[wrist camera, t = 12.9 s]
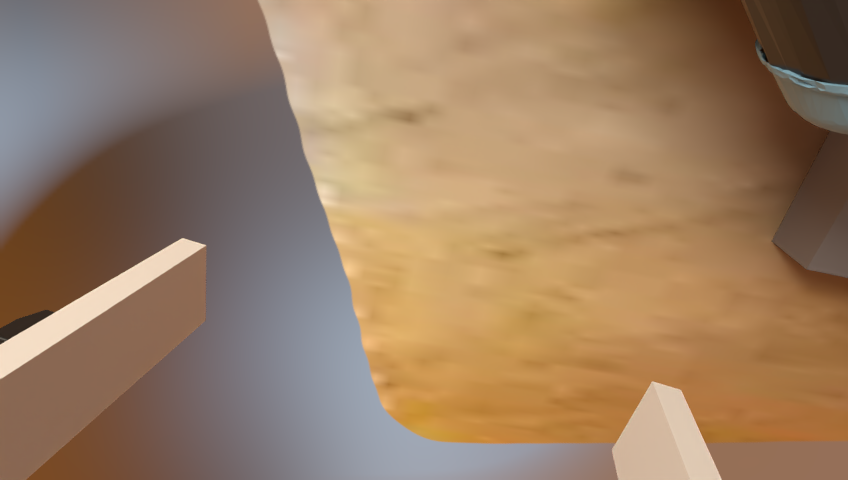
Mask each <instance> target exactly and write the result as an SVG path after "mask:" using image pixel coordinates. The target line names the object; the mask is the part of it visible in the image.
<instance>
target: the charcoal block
mask: <svg viewBox="0 0 848 480" xmlns="http://www.w3.org/2000/svg"><path fill="white" fill-rule="evenodd" d="M772 242H773V243H774V244H776V245H777V246H778V247H779V248H781V249H782V250H783V251H784V252H786V253H787V254H788V255H789V256H790V257H792V258H793V259H794V260H795V261H797V262H798V263H799V264H800V265H802V266H803V267H804V268H805V269H807V270H812V271H817V272H822V273H826V274H831V275H836V276H841V277H846V278H848V135H847V134H841V133H837V132H833V131H830V132H829V134H828V136H827V138H826V140H825V141H824V143H823V145H822V147H821V149H820V151H819V153H818V155H817V157H816V158H815V160H814V162H813V164H812V166H811V168H810V170H809V172H808V174H807V175H806V177H805V179H804V181H803V183H802V185H801V187H800V189H799V191H798V192H797V194H796V196H795V198H794V200H793V202H792V204H791V206H790V208H789V209H788V211H787V213H786V215H785V217H784V219H783V221H782V223H781V224H780V226H779V228H778V230H777V232H776V234H775V236H774V238H773V240H772Z"/></svg>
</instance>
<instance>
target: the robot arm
mask: <svg viewBox="0 0 848 480" xmlns="http://www.w3.org/2000/svg"><path fill="white" fill-rule="evenodd" d="M741 2H742V4H743V7H744V9H745V11H746V14H747V16H748V18H749V21H750V23H751V25H752V28H753V30H754V32H755V35H756V37H757V40H756V42H755V47H756V51H757V55H758V57H759V59H760V61H761V62H762V64H763V65H765V66H766V67H767V69H768V70H769V71H770V72H772V74H773V76H774V78H775V80H776V82H777V84H778V86H779V88H780V90H781V92H782V94H783V96H784V98H785V100H786V102H787V103H788V105H789V106H790V107H791V109H792V110H793V111H794V112H796V113H797V114H799V115H800V116H801V117H802V118H804V119H805V120H806V121H808V122H810V123H812V124H813V125H815V126H817V127H820V128H823V129H826V130H830V131H833V132H837V133H841V134H847V135H848V0H741ZM205 320H206V245H203V244H200V243H197V242H193V241H190V240H187V239H183V238H182V239H180V240H178V241H177V242H175V243H173V244H172V245H170V246H168V247H166V248H165V249H163V250H161V251H160V252H158V253H156V254H155V255H153V256H151V257H149V258H148V259H146V260H144V261H142V262H141V263H139V264H137V265H136V266H134V267H132V268H131V269H129V270H127V271H126V272H124V273H122V274H120V275H119V276H117V277H115V278H113V279H112V280H110V281H108V282H107V283H105V284H103V285H101V286H100V287H98V288H97V289H95V290H93V291H91V292H89V293H88V294H86V295H84V296H83V297H81V298H79V299H77V300H76V301H74V302H72V303H71V304H69V305H67V306H65V307H64V308H62V309H60V310H59V311H57V312H51V311H49V310H44V311H41V312H38V313H35V314H32V315H29V316H25V317H22V318H19V319H16V320H15V321H13V322H11V323H9V324H8V325H6V326H4V327H2V328H0V480H26V479H27V478H28V477H29V476H30V475H31V474H32V473H34V472H35V471H36V470H37V469H38V468H39V467H40V466H42V465H43V464H44V463H45V462H46V461H47V460H48V459H50V458H51V457H52V456H53V455H54V454H55V453H56V452H57V451H59V450H60V449H61V448H62V447H63V446H64V445H65V444H66V443H68V442H69V441H70V440H71V439H72V438H73V437H74V436H75V435H77V434H78V433H79V432H80V431H81V430H82V429H83V428H84V427H86V426H87V425H88V424H89V423H90V422H91V421H92V420H94V419H95V418H96V417H97V416H98V415H99V414H100V413H101V412H103V411H104V410H105V409H106V408H107V407H108V406H109V405H110V404H112V403H113V402H114V401H115V400H116V399H117V398H118V397H120V396H121V395H122V394H123V393H124V392H125V391H126V390H127V389H129V388H130V387H131V386H132V385H133V384H134V383H135V382H136V381H137V380H139V379H140V378H141V377H142V376H143V375H144V374H145V373H147V372H148V371H149V370H150V369H151V368H152V367H153V366H154V365H155V364H157V363H158V362H159V361H160V360H161V359H162V358H163V357H165V356H166V355H167V354H168V353H169V352H170V351H171V350H173V348H175V347H176V346H177V345H178V344H179V343H180V342H182V341H183V340H184V339H185V338H186V337H187V336H188V335H190V334H191V333H192V332H193V331H194V330H195V329H196V328H197V327H199V326H200V325H201V324H202V323H203V322H204V321H205ZM612 453H613V458H614V462H615V467H616V471H617V476H618V480H722V479H721V477H720V475H719V473H718V470H717V468H716V466H715V464H714V462H713V459H712V457H711V455H710V453H709V451H708V448H707V446H706V444H705V442H704V440H703V437H702V435H701V433H700V431H699V429H698V426H697V424H696V422H695V420H694V418H693V415H692V413H691V411H690V409H689V407H688V404H687V402H686V400H685V398H684V396H683V393H682V391H681V390H679V389H676V388H673V387H669V386H666V385H663V384H660V383H656V382H653V381H652V383H651V385H650V386H649V388H648V390H647V391H646V393H645V395H644V396H643V398H642V400H641V402H640V403H639V405H638V407H637V408H636V410H635V412H634V413H633V415H632V417H631V418H630V420H629V422H628V424H627V425H626V427H625V429H624V430H623V432H622V434H621V435H620V437H619V439H618V441H617V442H616V444H615V446H614V447H613V449H612Z"/></svg>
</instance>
